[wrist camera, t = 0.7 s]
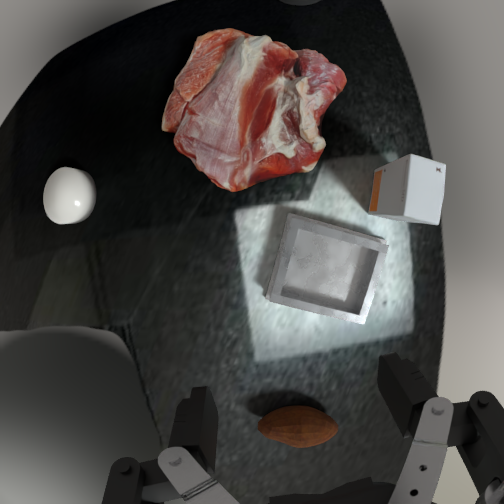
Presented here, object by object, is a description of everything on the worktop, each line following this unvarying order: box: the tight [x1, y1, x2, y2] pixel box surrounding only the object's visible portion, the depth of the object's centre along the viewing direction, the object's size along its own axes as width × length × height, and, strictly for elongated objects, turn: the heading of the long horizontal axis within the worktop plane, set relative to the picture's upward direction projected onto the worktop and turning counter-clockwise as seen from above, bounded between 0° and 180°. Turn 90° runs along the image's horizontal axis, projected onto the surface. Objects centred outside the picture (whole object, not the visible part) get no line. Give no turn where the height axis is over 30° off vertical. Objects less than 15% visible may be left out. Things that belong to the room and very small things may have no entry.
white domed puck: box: [43, 167, 96, 224], centre depth 38 cm, size 8×8×4 cm
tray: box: [265, 213, 389, 324], centre depth 36 cm, size 11×13×3 cm
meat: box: [162, 28, 347, 192], centre depth 32 cm, size 21×21×10 cm
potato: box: [258, 405, 338, 448], centre depth 37 cm, size 6×12×6 cm, turn 89°
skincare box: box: [368, 154, 446, 225], centre depth 30 cm, size 6×4×12 cm
